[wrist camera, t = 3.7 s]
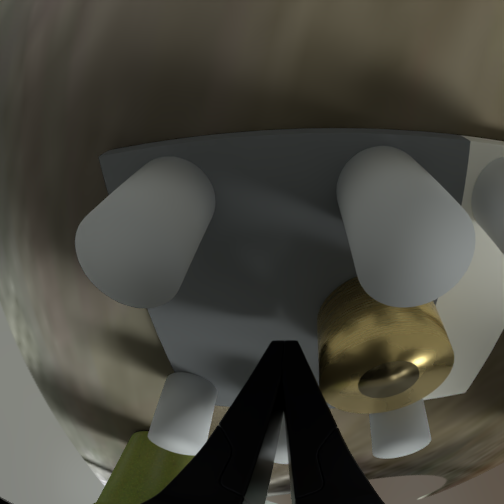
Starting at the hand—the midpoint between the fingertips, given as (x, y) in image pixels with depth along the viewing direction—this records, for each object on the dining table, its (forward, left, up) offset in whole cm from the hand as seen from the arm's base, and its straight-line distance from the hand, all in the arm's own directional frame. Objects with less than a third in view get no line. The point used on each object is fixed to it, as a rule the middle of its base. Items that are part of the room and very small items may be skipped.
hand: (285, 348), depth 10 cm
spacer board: (-2, 0, -2) cm, 3 cm away
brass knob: (-3, 0, -1) cm, 3 cm away
